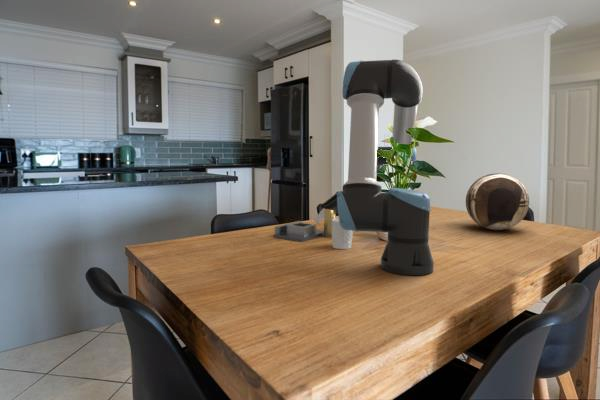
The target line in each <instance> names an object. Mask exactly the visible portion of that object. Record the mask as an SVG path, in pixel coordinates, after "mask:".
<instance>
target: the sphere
mask: <svg viewBox="0 0 600 400" xmlns="http://www.w3.org/2000/svg"><path fill="white" fill-rule="evenodd" d="M529 196H530V195H529V192H528V190H527V188H526V187H525V186H524V185H523V183H522V182H521V181H519V180H518V179H517V178H515V177H513V176H511V175H509V174H507V173H506V174H505V173H497V172H496V173H488V174H486V175H484V176H481V177H479V178H478V179H476V180H475V181H473V183H472V184H471V185H470V186H469V189H468V190H467V193H466V196H465V207H466V211H467V213H468V215H469V217H470V218H471V219H472V221H473V222H474V223H476V224H477V225H478V226H479V227H482V228H484V229H486V230H487V229H488V230H491V231H503V230H508V229H511V228H513V227H515V226H517V224H520V223H521V221H523V220H524V218H525V217H526V215H527V213H528V210H529V206H530V197H529Z"/></svg>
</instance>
